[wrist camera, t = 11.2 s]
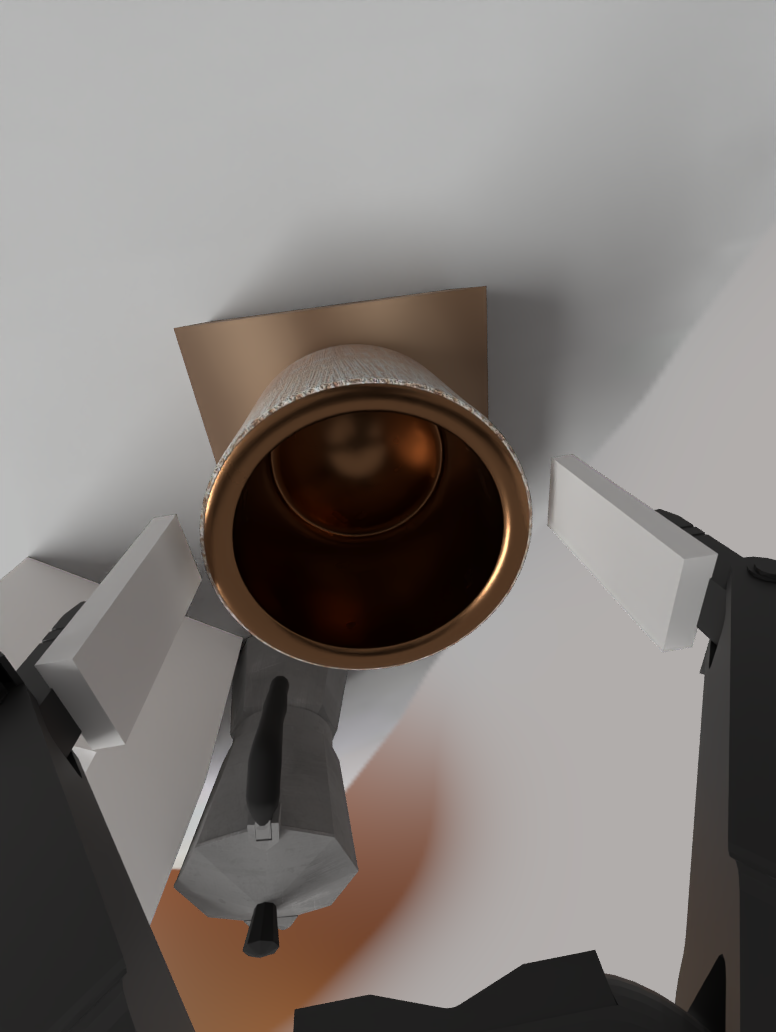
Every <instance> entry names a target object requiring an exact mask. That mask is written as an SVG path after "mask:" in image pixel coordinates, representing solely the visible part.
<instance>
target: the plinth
mask: <svg viewBox="0 0 776 1032" xmlns="http://www.w3.org/2000/svg"><path fill="white" fill-rule="evenodd" d="M174 331H175V334H176V337H177V341H178V344H179V347H180V350H181V353H182V356H183V360H184V363H185V366H186V369H187V372H188V375H189V379H190V382H191V385H192V388H193V391H194V394H195V398H196V401H197V404H198V407H199V410H200V413H201V417H202V420H203V423H204V426H205V429H206V432H207V436H208V439H209V442H210V445H211V448H212V451H213V455H214V458H215V461H216V464H218V462H219V460H220V459H221V457H222V456H223V454H224V452H225V451H226V449H227V448H228V446H229V445H230V443H231V442H232V440H233V439H234V437H235V436H236V434H237V433H238V431H239V430H240V428H241V427H242V425H243V424H244V422H245V420H246V419H247V417H248V415H249V414H250V412H251V410H252V409H253V407H254V405H255V404H256V402H257V401H258V399H259V397H260V396H261V394H262V393H263V392H264V390H265V389H266V388H267V386H268V385H269V384H270V383H271V382H272V380H273V379H274V378H275V377H276V376H277V375H279V374H280V373H281V372H282V371H283V370H284V369H286V368H287V367H288V366H290V365H291V364H292V363H294V362H295V361H297V360H299V359H301V358H303V357H304V356H307V355H309V354H311V353H313V352H316V351H319V350H322V349H325V348H329V347H334V346H340V345H350V344H363V345H373V346H379V347H383V348H387V349H390V350H393V351H396V352H399V353H401V354H403V355H406V356H408V357H410V358H411V359H413V360H415V361H417V362H418V363H420V364H421V365H423V366H424V367H425V368H426V369H428V370H429V371H430V372H431V373H433V374H434V375H435V376H436V377H437V378H439V379H440V380H441V381H442V382H443V383H444V384H446V385H447V386H448V387H449V388H450V389H451V390H453V391H454V392H455V393H456V394H457V395H458V396H460V397H461V398H462V399H463V400H465V401H466V402H467V403H469V404H470V405H471V406H472V407H474V408H475V409H476V410H477V411H479V412H480V413H481V414H482V415H484V416H485V417H486V418H487V419H488V367H487V298H486V286H482V287H470V288H458V289H449V290H442V291H434V292H427V293H419V294H412V295H404V296H397V297H390V298H382V299H375V300H367V301H360V302H352V303H345V304H338V305H330V306H323V307H315V308H308V309H300V310H293V311H286V312H278V313H271V314H263V315H256V316H248V317H241V318H234V319H226V320H219V321H211V322H205V323H200V324H194V325H189V326H183V327H178V328H174Z"/></svg>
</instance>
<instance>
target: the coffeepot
mask: <svg viewBox="0 0 776 1032" xmlns="http://www.w3.org/2000/svg"><path fill="white" fill-rule="evenodd" d="M347 671H348V670H344V669H334V668H328V667H322V666H318V665H313V664H310V663H306V662H303V661H300V660H297V659H295V658H292V657H289V656H287V655H285V654H283V653H281V652H279V651H277V650H275V649H273V648H271V647H269V646H268V645H266V644H264V643H263V642H261V641H260V640H259V639H257V638H256V637H254V636H253V637H250V638H248V639H247V641H246V643H245V646H244V647H243V649H242V651H241V654H240V656H239V658H238V660H237V663H236V667H235V670H234V674H233V680H232V706H231V731H230V735H231V737H232V739H233V743H232V746H231V748H230V749H229V751H228V753H227V755H226V757H225V759H224V762H223V764H222V766H221V768H220V771H219V773H218V776H217V778H216V781H215V784H214V786H213V789H212V791H211V794H210V796H209V799H208V801H207V804H206V806H205V809H204V812H203V814H202V817H201V819H200V822H199V824H198V827H197V829H196V832H195V834H194V837H193V840H192V842H191V845H190V847H189V850H188V852H187V855H186V857H185V860H184V862H183V865H182V868H181V870H180V873H179V875H178V878H177V880H176V882H175V884H174V888H175V889H176V890H177V891H178V892H180V893H181V894H182V895H183V896H184V897H185V898H187V899H188V900H189V901H190V902H191V903H192V904H194V905H195V906H196V907H197V908H198V909H199V910H201V911H202V912H203V913H204V914H205V915H206V916H208V917H212V918H223V919H233V920H244V922H245V923H246V924H247V925H248V926H249V930H248V933H247V937H246V940H245V944H244V947H243V952H244V953H245V954H247V955H248V956H251V957H259V958H260V957H264V956H267V955H270V954H274V953H275V952H276V950H277V949H278V947H279V938H278V928H279V929H281V930H284V929H287V928H288V927H290V926H291V925H292V923H293V922H294V921H295V919H296V918H297V917H298V915H300V914H303V913H306V912H310V911H313V910H316V909H320V908H323V907H326V906H329V905H331V904H332V903H333V902H334V901H335V899H336V898H337V897H338V896H339V894H340V893H341V892H342V891H343V889H344V888H345V887H346V886H347V884H348V883H349V882H350V881H351V880H352V878H353V877H354V876H355V875H356V873H357V872H358V866H357V860H356V855H355V849H354V843H353V838H352V832H351V826H350V821H349V814H348V809H347V803H346V797H345V791H344V785H343V779H342V774H341V768H340V762H339V759H338V757H337V755H336V753H335V751H334V749H333V748H332V740H333V738H334V736H335V733H336V731H337V728H338V722H339V717H340V711H341V705H342V700H343V694H344V688H345V683H346V677H347Z"/></svg>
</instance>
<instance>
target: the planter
mask: <svg viewBox="0 0 776 1032" xmlns="http://www.w3.org/2000/svg"><path fill="white" fill-rule="evenodd" d="M531 531H532V503H531V496H530V491H529V487H528V483H527V479H526V476H525V474H524V471H523V468H522V466H521V464H520V462H519V460H518V458H517V456H516V454H515V452H514V451H513V449H512V447H511V446H510V445H509V443H508V442H507V440H506V439H505V438H504V436H503V435H502V434H501V433H500V432H499V431H498V429H497V428H496V427H495V426H494V425H493V424H492V423H491V422H490V421H489V420H488V419H487V418H486V417H485V416H484V415H482V414H481V413H480V412H479V411H477V410H476V409H475V408H474V407H472V406H471V405H470V404H469V403H467V402H466V401H465V400H463V399H462V398H461V397H460V396H458V395H457V394H456V393H455V392H454V391H453V390H451V389H450V388H449V387H448V386H447V385H446V384H444V383H443V382H442V381H441V380H440V379H439V378H437V377H436V376H435V375H434V374H433V373H431V372H430V371H429V370H428V369H426V368H425V367H424V366H423V365H421V364H420V363H418V362H417V361H415V360H413V359H411V358H410V357H408V356H406V355H403V354H401V353H399V352H396V351H393V350H390V349H387V348H383V347H379V346H373V345H363V344H350V345H340V346H334V347H329V348H325V349H322V350H319V351H316V352H313V353H311V354H309V355H307V356H304V357H303V358H301V359H299V360H297V361H295V362H294V363H292V364H291V365H290V366H288V367H287V368H286V369H284V370H283V371H282V372H281V373H280V374H279V375H277V376H276V377H275V378H274V379H273V380H272V382H271V383H270V384H269V385H268V386H267V388H266V389H265V390H264V392H263V393H262V394H261V396H260V397H259V399H258V401H257V402H256V404H255V405H254V407H253V409H252V410H251V412H250V414H249V415H248V417H247V419H246V420H245V422H244V424H243V425H242V427H241V428H240V430H239V431H238V433H237V434H236V436H235V437H234V439H233V440H232V442H231V443H230V445H229V446H228V448H227V449H226V451H225V452H224V454H223V456H222V457H221V459H220V460H219V462H218V464H217V466H216V468H215V470H214V472H213V474H212V476H211V479H210V481H209V484H208V487H207V489H206V493H205V497H204V500H203V505H202V511H201V519H200V543H201V551H202V556H203V561H204V565H205V568H206V571H207V574H208V577H209V579H210V581H211V584H212V586H213V588H214V590H215V592H216V594H217V595H218V597H219V599H220V600H221V602H222V603H223V605H224V606H225V607H226V609H227V610H228V611H229V613H230V614H231V615H232V616H233V617H234V618H235V619H236V621H237V622H238V623H239V624H240V625H242V626H243V627H244V628H245V629H246V630H247V631H248V632H249V633H251V634H252V635H253V636H254V637H256V638H257V639H259V640H260V641H261V642H263V643H264V644H266V645H268V646H269V647H271V648H273V649H275V650H277V651H279V652H281V653H283V654H285V655H287V656H289V657H292V658H295V659H297V660H300V661H303V662H306V663H310V664H313V665H318V666H322V667H328V668H334V669H344V670H372V669H382V668H390V667H395V666H400V665H404V664H408V663H412V662H415V661H418V660H421V659H424V658H426V657H429V656H432V655H434V654H436V653H438V652H440V651H443V650H444V649H446V648H448V647H450V646H452V645H454V644H455V643H457V642H459V641H460V640H462V639H463V638H465V637H466V636H467V635H469V634H470V633H472V632H473V631H474V630H475V629H477V628H478V627H479V626H480V625H481V624H482V623H483V622H485V621H486V620H487V619H488V618H489V617H490V616H491V615H492V614H493V613H494V611H495V610H496V609H497V608H498V607H499V606H500V604H501V603H502V602H503V601H504V599H505V598H506V596H507V595H508V594H509V592H510V590H511V589H512V587H513V586H514V584H515V582H516V580H517V578H518V576H519V574H520V571H521V569H522V567H523V564H524V562H525V559H526V556H527V552H528V548H529V544H530V539H531Z"/></svg>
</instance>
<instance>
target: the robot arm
mask: <svg viewBox="0 0 776 1032" xmlns="http://www.w3.org/2000/svg"><path fill="white" fill-rule="evenodd" d="M548 527H549V528H550V529H551V530H552V531H553V532H554V533H555V534H556V535H557V537H558V538H559V539H560V540H561V541H562V542H563V543H564V544H565V545H566V546H567V547H568V549H569V550H570V551H571V552H572V553H573V554H574V555H575V556H576V557H577V559H578V560H579V561H580V562H581V563H582V564H583V565H584V566H585V567H586V568H587V570H588V571H589V572H590V573H591V574H592V575H593V576H594V577H595V578H596V580H598V582H599V583H600V584H601V585H602V586H603V587H604V588H605V589H606V591H607V592H608V593H609V594H610V595H611V596H612V597H613V598H614V599H615V600H616V602H617V603H618V604H619V605H620V606H621V607H622V608H623V609H624V610H625V611H626V613H627V614H628V615H629V616H630V617H631V618H632V619H633V620H634V621H635V623H636V624H637V625H638V626H639V627H640V628H641V629H642V630H643V631H644V632H645V634H646V635H647V636H648V637H649V638H650V639H651V640H652V641H653V642H654V643H655V645H657V647H658V648H659V649H660V650H661V651H662V652H667V651H673V650H678V649H684V648H690V647H692V646H693V642H694V639H695V635H696V632H697V628H699V629H700V630H701V631H702V632H703V633H704V634H705V635H706V636H707V637H708V638H709V639H710V640H709V643H708V647H707V650H706V653H705V657H704V660H703V664H702V667H701V670H700V673H701V674H704V675H705V677H704V691H703V705H702V719H701V733H700V747H699V761H698V775H697V788H696V789H697V790H696V803H695V817H694V830H693V844H692V859H691V872H690V886H689V900H688V914H687V928H686V939H685V947H684V954H683V959H682V964H681V968H680V973H679V978H678V985H677V991H676V999H675V1004H674V1003H673V1002H671V1001H669V1000H668V999H666V998H665V997H663V996H662V995H660V994H658V993H657V992H655V991H652V990H650V989H648V988H646V987H644V986H642V985H640V984H638V983H636V982H633V981H630V980H627V979H624V978H621V977H618V976H615V975H610V974H605V973H604V971H603V969H602V966H601V964H600V961H599V959H598V956H597V953H596V951H595V950H592V951H587V952H582V953H578V954H572V955H567V956H562V957H557V958H552V959H547V960H542V961H537V962H532V963H527V964H523V965H521V966H520V967H518V968H516V969H515V970H513V971H512V972H510V973H509V974H507V975H505V976H504V977H502V978H501V979H499V980H498V981H496V982H494V983H493V984H491V985H490V986H488V987H487V988H485V989H483V990H482V991H480V992H479V993H477V994H476V995H474V996H473V997H471V998H469V999H468V1000H466V1001H465V1002H463V1003H462V1004H460V1005H458V1006H456V1007H453V1008H440V1007H435V1006H429V1005H423V1004H418V1003H413V1002H407V1001H402V1000H396V999H391V998H385V997H380V996H375V995H365V996H361V997H355V998H350V999H345V1000H340V1001H335V1002H330V1003H325V1004H320V1005H315V1006H310V1007H305V1008H300V1009H295V1013H294V1031H293V1032H776V560H773V559H769V558H761V557H746V558H743V557H741V556H740V555H738V554H737V553H735V552H734V551H732V550H730V549H729V548H728V547H726V546H725V545H723V544H721V543H720V542H718V541H717V540H715V539H714V538H712V537H711V536H709V535H705V532H703V531H702V530H700V529H698V528H697V527H693V525H692V524H691V523H689V522H688V521H686V520H684V519H683V518H682V517H680V516H678V515H675V514H672V513H670V512H667V511H664V510H661V509H658V510H653V509H652V508H650V507H649V506H647V505H646V504H644V503H643V502H642V501H640V500H638V499H637V498H636V497H634V496H633V495H631V494H630V493H628V492H627V491H625V490H624V489H623V488H621V487H620V486H618V485H617V484H615V483H614V482H612V481H611V480H609V479H608V478H607V477H605V476H603V475H602V474H601V473H599V472H598V471H596V470H595V469H593V468H592V467H590V466H589V465H588V464H586V463H585V462H583V461H582V460H580V459H579V458H577V457H576V456H574V455H573V454H571V455H564V456H558V457H552V458H551V475H550V491H549V508H548ZM201 581H202V579H201V577H200V574H199V571H198V569H197V566H196V564H195V561H194V559H193V556H192V553H191V551H190V548H189V546H188V543H187V541H186V538H185V535H184V533H183V530H182V528H181V525H180V522H179V520H178V517H177V515H176V514H175V515H168V516H162V517H155V518H153V519H152V520H151V522H150V523H149V524H148V525H147V527H146V528H145V529H144V530H143V531H142V533H141V534H140V535H139V536H138V538H137V539H136V540H135V541H134V543H133V544H132V545H131V546H130V548H129V549H128V550H127V551H126V553H125V554H124V555H123V556H122V557H121V559H120V560H119V561H118V562H117V564H116V565H115V566H114V567H113V569H112V570H111V571H110V572H109V574H108V575H107V576H106V577H105V579H104V580H103V581H102V582H101V583H100V585H99V586H98V587H97V588H96V590H95V591H94V592H93V593H92V595H91V596H90V597H89V598H88V600H87V601H83V602H80V603H79V604H77V605H76V606H75V607H73V608H72V609H71V610H69V611H68V612H67V613H65V614H64V615H63V616H62V617H61V618H60V620H59V621H58V622H57V623H56V624H55V625H54V627H53V628H52V631H51V632H49V633H48V634H47V635H46V636H45V637H44V638H43V640H42V643H39V644H38V646H37V647H36V648H35V649H34V650H33V651H32V653H31V654H30V655H29V656H28V657H27V659H26V660H25V661H24V662H23V663H22V665H21V666H20V667H19V668H18V669H17V670H16V671H15V669H14V668H13V666H12V665H11V664H10V662H9V661H8V659H7V658H6V657H5V655H4V654H3V653H2V652H0V1032H195V1030H194V1028H193V1026H192V1023H191V1021H190V1019H189V1016H188V1014H187V1011H186V1009H185V1007H184V1005H183V1002H182V1000H181V998H180V995H179V993H178V990H177V988H176V986H175V983H174V981H173V979H172V976H171V974H170V972H169V969H168V967H167V965H166V963H165V960H164V958H163V955H162V953H161V951H160V948H159V946H158V944H157V941H156V939H155V937H154V935H153V932H152V930H151V927H150V925H149V922H148V920H147V918H146V915H145V913H144V911H143V908H142V906H141V904H140V901H139V899H138V897H137V894H136V892H135V890H134V887H133V885H132V883H131V880H130V878H129V876H128V873H127V871H126V869H125V866H124V864H123V862H122V859H121V857H120V855H119V852H118V850H117V847H116V845H115V843H114V840H113V838H112V836H111V833H110V831H109V829H108V826H107V824H106V822H105V819H104V817H103V815H102V812H101V810H100V808H99V805H98V803H97V801H96V798H95V796H94V794H93V791H92V789H91V787H90V784H89V782H88V780H87V777H86V775H85V773H84V770H83V768H82V766H81V763H80V761H79V759H78V757H77V756H76V754H75V753H74V752H73V750H72V748H73V747H74V745H75V743H76V741H77V740H78V738H79V736H80V734H82V736H83V737H84V739H85V740H86V742H87V743H88V745H89V746H90V747H91V749H92V750H95V749H101V748H107V747H113V746H118V745H124V744H126V742H127V740H128V737H129V735H130V733H131V731H132V729H133V727H134V724H135V722H136V720H137V718H138V716H139V714H140V712H141V709H142V707H143V705H144V703H145V701H146V699H147V697H148V694H149V692H150V690H151V688H152V686H153V684H154V682H155V679H156V677H157V675H158V673H159V671H160V669H161V666H162V664H163V662H164V660H165V658H166V656H167V654H168V651H169V649H170V647H171V645H172V643H173V641H174V639H175V636H176V634H177V632H178V630H179V628H180V626H181V624H182V621H183V619H184V617H185V615H186V613H187V611H188V608H189V606H190V604H191V602H192V600H193V598H194V596H195V593H196V591H197V589H198V587H199V585H200V583H201Z"/></svg>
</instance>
